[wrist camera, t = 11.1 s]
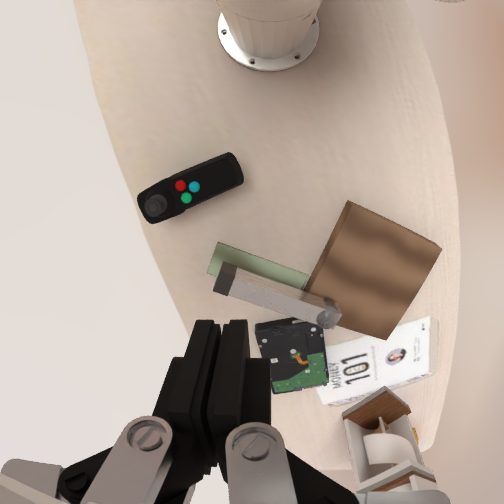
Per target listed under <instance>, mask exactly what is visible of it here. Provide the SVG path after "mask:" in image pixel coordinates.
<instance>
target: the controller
mask: <svg viewBox="0 0 504 504" xmlns="http://www.w3.org/2000/svg"><path fill="white" fill-rule="evenodd" d="M243 181H244V176H243V173H242V170H241V167H240V165H239V163H238V161H237V159H236V157H235V156H234V155H233V154H232V153H230V152H228V153H225V154H222V155H220V156H217V157H215V158H212V159H210V160H207V161H205V162H203V163H200V164H198V165H195V166H193V167H190V168H188V169H186V170H183V171H181V172H179V173H176V174H174V175H172V176H171V177H169V178H166V179H163V180H161V181H160V182H158V183H156V184H154V185H153V186H151V187H149V188H147V189H146V190H144V191H142V192H141V193H140V194H139V195H138V197H137V202H138V206H139V208H140V210H141V212H142V214H143V216H144V218H145V219H146V220H147V221H148V222H149V223H151V224H155V223H159V222H161V221H164V220H166V219H169V218H172V217H174V216H177V215H180V214H181V213H183V212H184V211H185V210H186V209H188V208H191V207H193V206H195V205H197V204H199V203H201V202H204V201H206V200H208V199H210V198H212V197H214V196H217V195H219V194H221V193H223V192H225V191H228V190H230V189H232V188H234V187H237V186H239V185H241V184H242V183H243Z"/></svg>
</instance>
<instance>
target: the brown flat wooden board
mask: <svg viewBox="0 0 504 504" xmlns="http://www.w3.org/2000/svg"><path fill="white" fill-rule="evenodd" d="M441 251H442V248H440V247H439V246H438V245H437V244H436V243H434V242H432V241H430V240H428V239H427V238H425V237H423V236H421V235H419V234H417V233H415V232H413V231H411V230H409V229H407V228H405V227H403V226H401V225H399V224H397V223H395V222H393V221H391V220H389V219H387V218H385V217H383V216H381V215H379V214H376V213H374V212H372V211H370V210H368V209H366V208H364V207H362V206H359V205H357V204H355V203H353V202H351V201H347V203H346V205H345V207H344V209H343V211H342V213H341V216H340V218H339V220H338V222H337V224H336V226H335V228H334V230H333V232H332V234H331V237H330V239H329V241H328V243H327V245H326V247H325V249H324V251H323V253H322V255H321V257H320V259H319V261H318V263H317V265H316V267H315V269H314V271H313V273H312V275H311V277H310V279H309V281H308V283H307V285H306V287H305V288H304V290H303V291H305V292H308V293H311V294H313V295H316V296H319V297H322V298H325V297H327V298H331V299H333V300H334V302H337V303H338V304H339V307H340V310H341V312H342V316H341V318H340V320H339V322H338V324H337V326H340V327H344V328H347V329H350V330H353V331H356V332H360V333H363V334H366V335H370V336H373V337H376V338H380V339H383V340H387V339H388V337H389V336H390V334H391V333H392V331H393V330H394V329H395V327H396V326H397V324H398V323H399V321H400V320H401V318H402V317H403V315H404V313H405V312H406V310H407V309H408V307H409V306H410V304H411V302H412V301H413V299H414V298H415V296H416V294H417V293H418V291H419V290H420V288H421V286H422V284H423V283H424V281H425V279H426V278H427V276H428V274H429V273H430V271H431V269H432V267H433V265H434V264H435V262H436V260H437V258H438V256H439V255H440V253H441ZM223 261H224V262H227V263H230V264H233V265H235V266H237V268H240V269H242V270H245V271H248V272H251V273H254V274H256V275H259V276H262V277H265V278H268V279H271V280H273V281H276V282H279V283H282V284H285V285H288V286H290V287H293V288H296V289H299V290H301V289H302V287H303V285H304V283H305V281H306V279H307V277H308V275H307V274H304V273H302V272H299V271H296V270H293V269H291V268H288V267H285V266H282V265H280V264H277V263H274V262H272V261H269V260H266V259H263V258H261V257H258V256H255V255H253V254H250V253H247V252H244V251H242V250H239V249H236V248H233V247H231V246H228V245H225V244H223V243H220V242H218V243H217V246H216V249H215V251H214V254H213V257H212V260H211V263H210V266H209V268H208V271H207V274H210V275H213V276H215V277H217V276H218V273H219V270H220V268H221V265H222V262H223Z"/></svg>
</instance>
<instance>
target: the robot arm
mask: <svg viewBox="0 0 504 504" xmlns="http://www.w3.org/2000/svg"><path fill="white" fill-rule="evenodd" d="M436 1H441V2H460V1H465V0H436ZM321 2H322V0H217V3H218V5H219V7H220V10H221V13H220V16H219V19H218V26H217V30H218V36H219V39H220V42H221V44H222V46H223V48H224V49H225V51H226V52H227V53H228V55H229V56H230V57H232V58H233V59H234V60H235V61H236V62H238V63H240V64H241V65H243V66H245V67H248V68H251V69H254V70H259V71H269V72H273V71H281V70H285V69H288V68H291V67H293V66H295V65H297V64H299V63H301V62H302V61H303V60H305V59H306V58H307V57H308V56H309V55H310V53H311V52H312V51H313V49H314V48H315V46H316V43H317V41H318V37H319V32H320V31H319V21H318V18H317V15H316V13H317V11H318V9H319V7H320V5H321ZM312 22H313V23H314V24H312ZM223 33H227V34H226V35H223ZM295 56H298V57H299V59H296V58H295ZM252 61H254V62H255V64H253V65H252V64H251V62H252ZM218 463H219V467H220V470H221V473H222V476H223V479H224V481H225V482H226V483H227V484H228V489H229V501H230V504H450V500H449V498H448V497H447V496H446V494H445V493H443V492H441V491H439V490H418V491H393V492H371V491H368V492H367V494H359V493H352V492H351V491H349V490H348V489H346V488H344V487H343V486H341V485H339V484H338V483H336V482H334V481H333V480H331V479H330V478H328V477H327V476H325V475H324V474H322V473H321V472H319V471H318V470H316V469H315V468H313V467H312V466H310V465H309V464H307V463H306V462H304V461H303V460H301V459H300V458H298V457H297V456H295V455H294V454H293V453H291V452H290V451H288V450H287V449H286V448H285V445H284V441H283V438H282V436H281V434H280V432H279V431H278V430H277V429H276V428H274V427H272V426H271V363H270V358H250V347H249V334H248V322H247V319H243V320H230V323H229V324H224V326H223V331H222V335H221V328H220V324H215V323H214V320H196V322H195V325H194V328H193V331H192V334H191V337H190V340H189V344H188V347H187V349H186V352H185V355H184V357H174V358H173V359H172V361H171V364H170V366H169V369H168V372H167V375H166V377H165V380H164V384H163V386H162V389H161V391H160V394H159V397H158V400H157V403H156V406H155V409H154V411H153V414H152V416H143V417H139V418H136V419H134V420H133V421H131V422H130V423H128V425H127V426H126V427H125V428H124V430H123V431H122V433H121V435H120V436H119V438H118V440H117V441H116V443H115V445H114V446H113V447H111V448H108V449H106V450H104V451H102V452H100V453H98V454H96V455H93V456H91V457H89V458H87V459H85V460H82V461H80V462H78V463H75V464H73V465H71V466H69V467H67V468H62V466H61V465H53V464H46V463H39V462H33V461H26V460H21V459H11V460H9V461H7V462H6V463H5V464H4V466H3V468H2V470H1V473H0V504H190V501H191V498H192V496H193V493H194V490H195V485H196V483H197V482H199V481H200V480H202V479H203V475H204V474H205V475H210V472H211V467H217V464H218Z"/></svg>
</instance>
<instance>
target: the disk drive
mask: <svg viewBox="0 0 504 504" xmlns="http://www.w3.org/2000/svg"><path fill="white" fill-rule="evenodd" d="M255 334H256V339H257V343H258V345H259V348H260V352H261V355H262V358H270V363H271V388H272V392H273V394H280V393H287V392H293V391H301V390H302V388H304V389H306V388H310V387H311V388H312V387H317V386H322V385H324V386H326V385H327V383H329V373H328V366H327V359H326V351H325V343H324V336H323V328H321V327H319V326H318V325H317V324H314V323H310V322H307V321H304V320H301V319H298V318H295V317H292V318H286V319H281V320H275V321H269V322H265V323H258V324H255Z"/></svg>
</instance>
